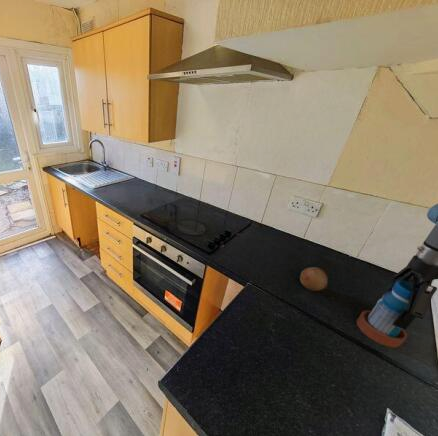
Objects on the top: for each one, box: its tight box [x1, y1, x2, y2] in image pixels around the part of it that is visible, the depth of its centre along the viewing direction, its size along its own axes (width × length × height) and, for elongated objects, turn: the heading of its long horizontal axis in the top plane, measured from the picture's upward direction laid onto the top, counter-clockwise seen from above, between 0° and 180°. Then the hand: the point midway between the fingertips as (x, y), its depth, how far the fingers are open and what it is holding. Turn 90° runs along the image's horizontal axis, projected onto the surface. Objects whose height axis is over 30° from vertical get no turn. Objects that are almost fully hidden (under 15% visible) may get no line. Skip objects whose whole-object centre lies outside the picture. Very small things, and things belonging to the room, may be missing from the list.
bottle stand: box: [356, 310, 408, 348], centre depth 79 cm, size 12×12×4 cm
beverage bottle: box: [366, 281, 417, 338], centre depth 75 cm, size 8×8×20 cm
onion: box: [299, 266, 329, 292], centre depth 96 cm, size 10×10×10 cm
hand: (393, 312), depth 76 cm, fingers open, 13 cm apart
